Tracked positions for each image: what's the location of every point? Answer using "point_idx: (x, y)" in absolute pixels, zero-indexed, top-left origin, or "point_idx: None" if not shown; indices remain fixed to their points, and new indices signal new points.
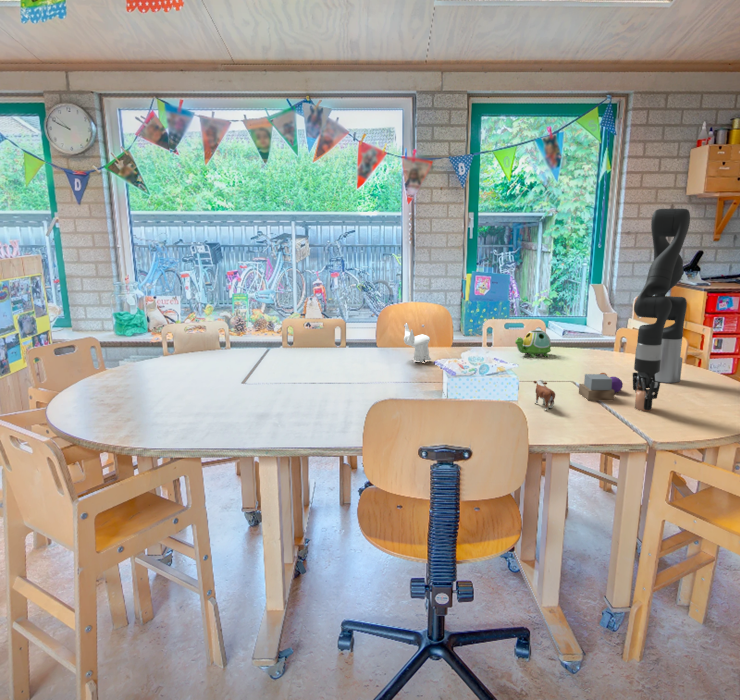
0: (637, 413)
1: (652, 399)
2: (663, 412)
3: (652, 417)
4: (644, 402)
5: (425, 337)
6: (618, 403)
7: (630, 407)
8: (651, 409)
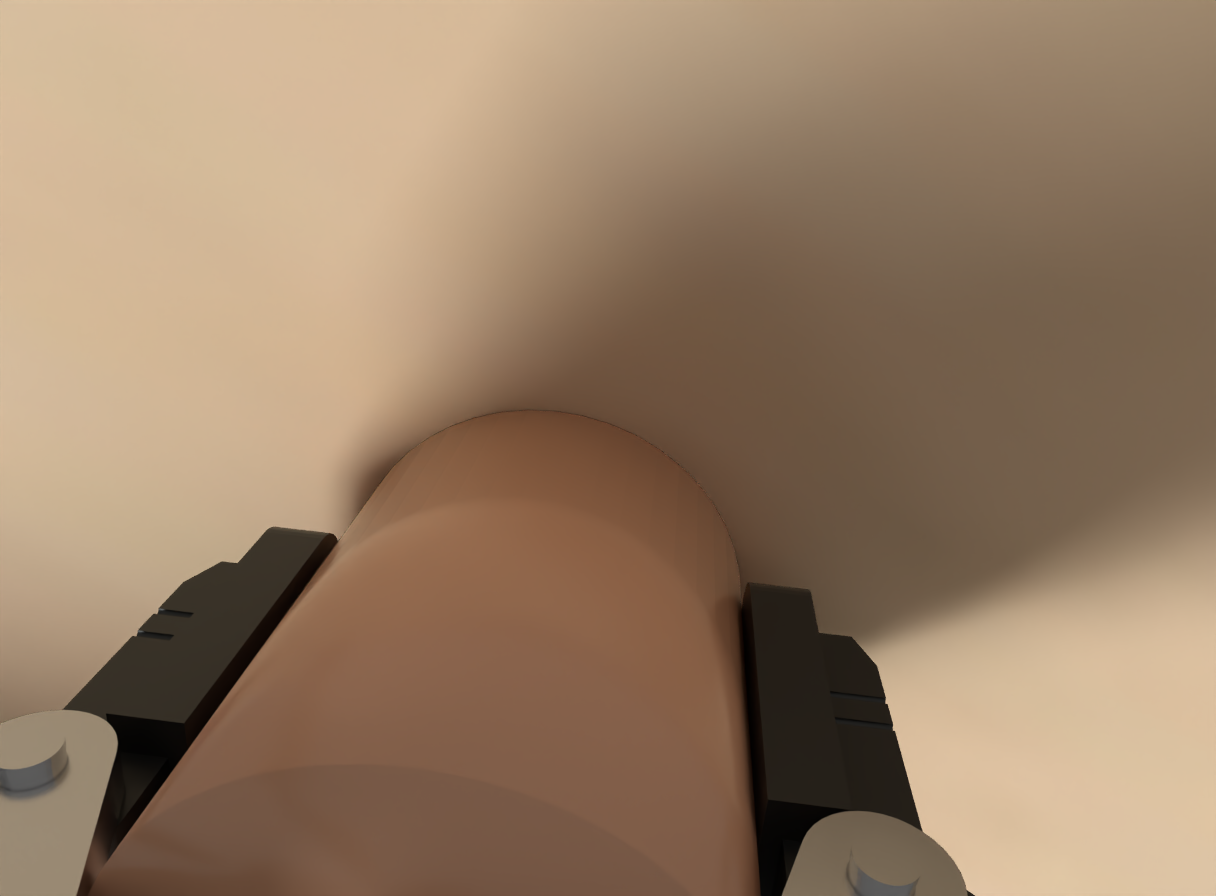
0: None
1: (639, 620)
2: (919, 247)
3: (1200, 746)
4: None
5: None
6: None
7: None
8: (657, 455)
